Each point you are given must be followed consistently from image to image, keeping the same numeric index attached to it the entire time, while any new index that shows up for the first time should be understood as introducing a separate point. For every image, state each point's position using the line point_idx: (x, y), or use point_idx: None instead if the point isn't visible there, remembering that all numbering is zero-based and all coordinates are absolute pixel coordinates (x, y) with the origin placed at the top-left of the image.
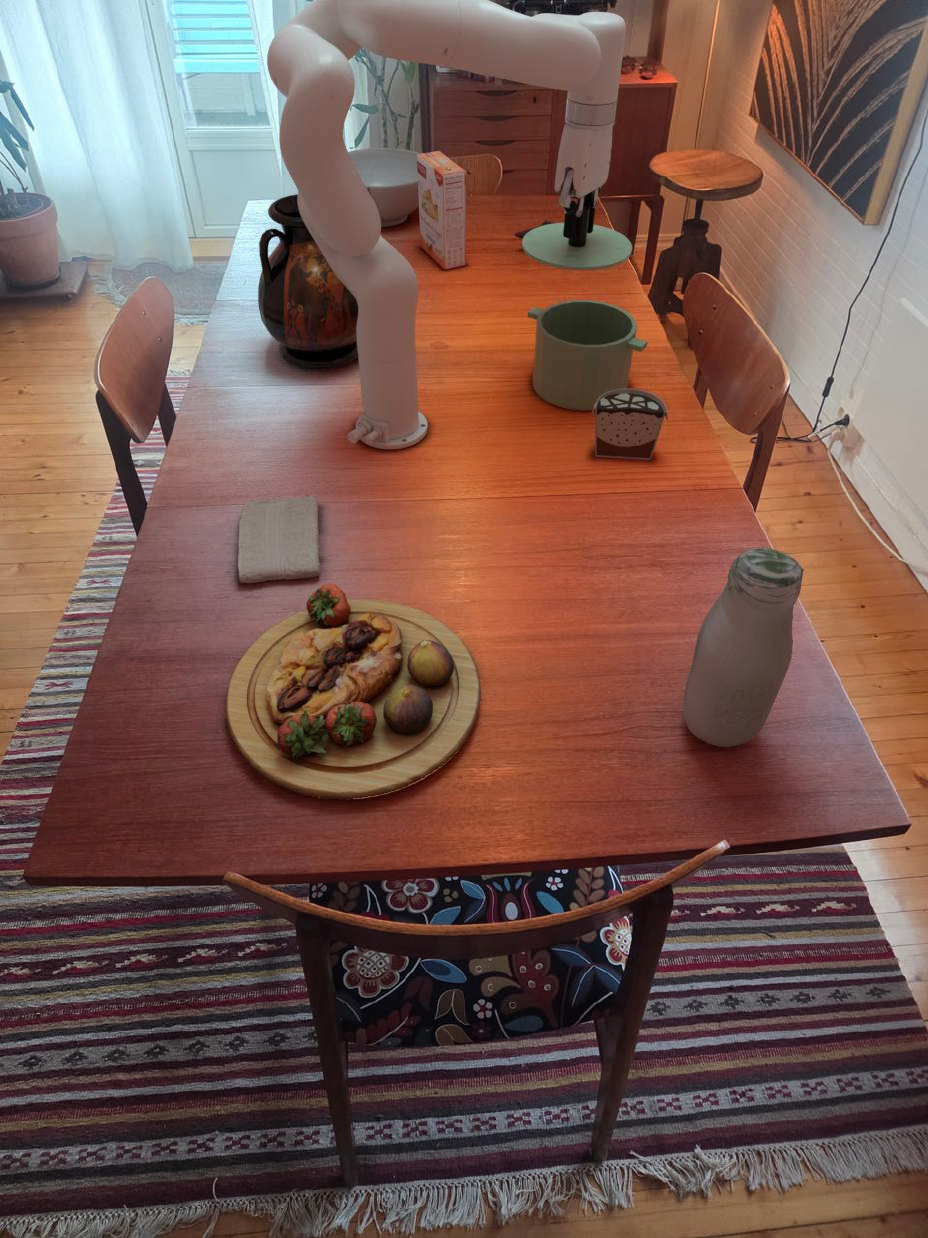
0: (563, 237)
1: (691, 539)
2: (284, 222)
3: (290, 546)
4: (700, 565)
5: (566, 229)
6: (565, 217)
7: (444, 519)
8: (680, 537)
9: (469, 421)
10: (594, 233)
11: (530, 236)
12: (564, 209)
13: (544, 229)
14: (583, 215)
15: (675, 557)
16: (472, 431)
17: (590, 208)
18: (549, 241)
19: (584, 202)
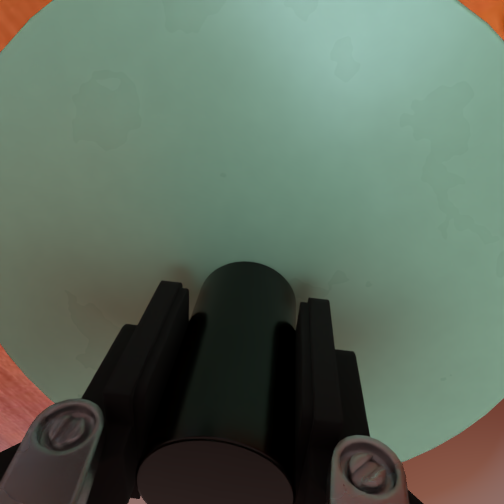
0: (287, 212)
1: (41, 399)
2: None
3: None
4: (13, 412)
5: (119, 336)
6: (120, 362)
7: None
8: (35, 390)
9: (33, 8)
10: (425, 330)
11: (173, 5)
12: (29, 431)
13: (355, 37)
14: (137, 495)
15: (4, 392)
16: (11, 36)
17: (295, 501)
18: (182, 165)
19: (309, 496)
